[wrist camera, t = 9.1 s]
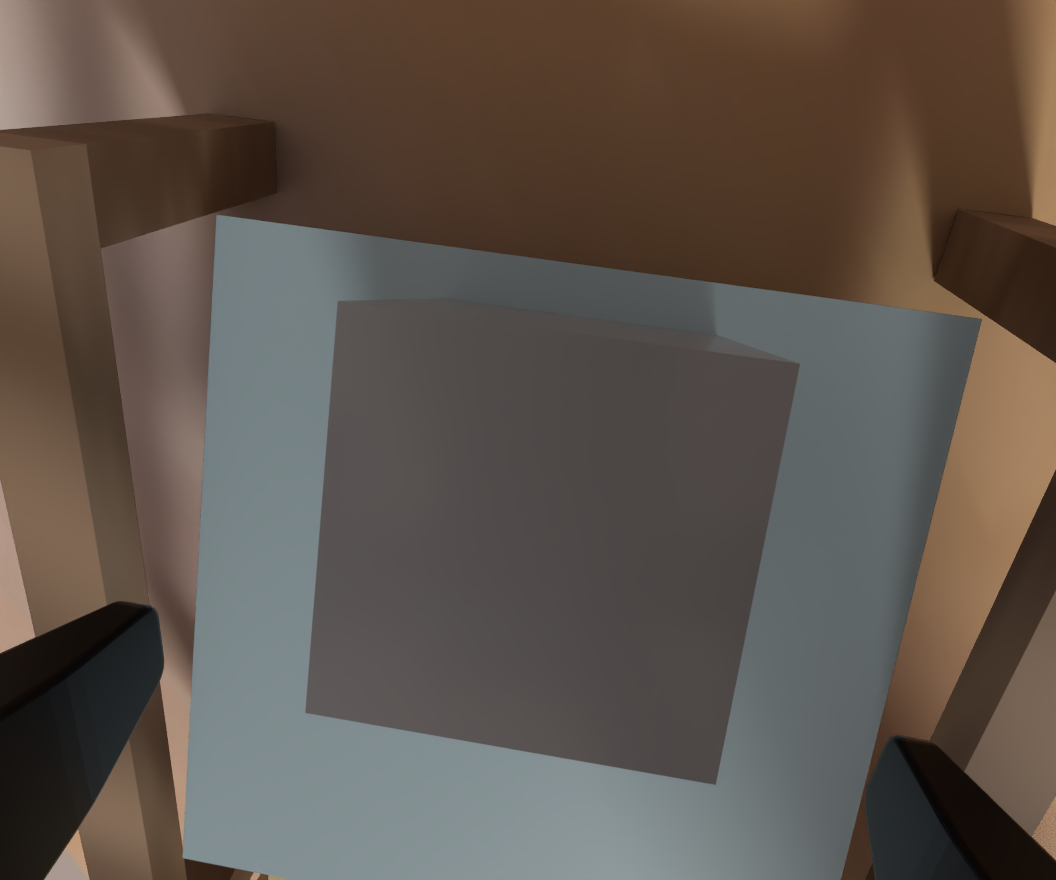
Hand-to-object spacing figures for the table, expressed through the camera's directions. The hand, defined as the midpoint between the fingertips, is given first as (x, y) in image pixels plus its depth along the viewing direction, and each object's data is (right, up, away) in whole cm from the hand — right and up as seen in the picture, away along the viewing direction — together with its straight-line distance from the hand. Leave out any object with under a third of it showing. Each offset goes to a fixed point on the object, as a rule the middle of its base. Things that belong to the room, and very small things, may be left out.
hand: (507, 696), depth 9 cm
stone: (+1, +3, +6) cm, 7 cm away
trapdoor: (+1, -2, +14) cm, 14 cm away
